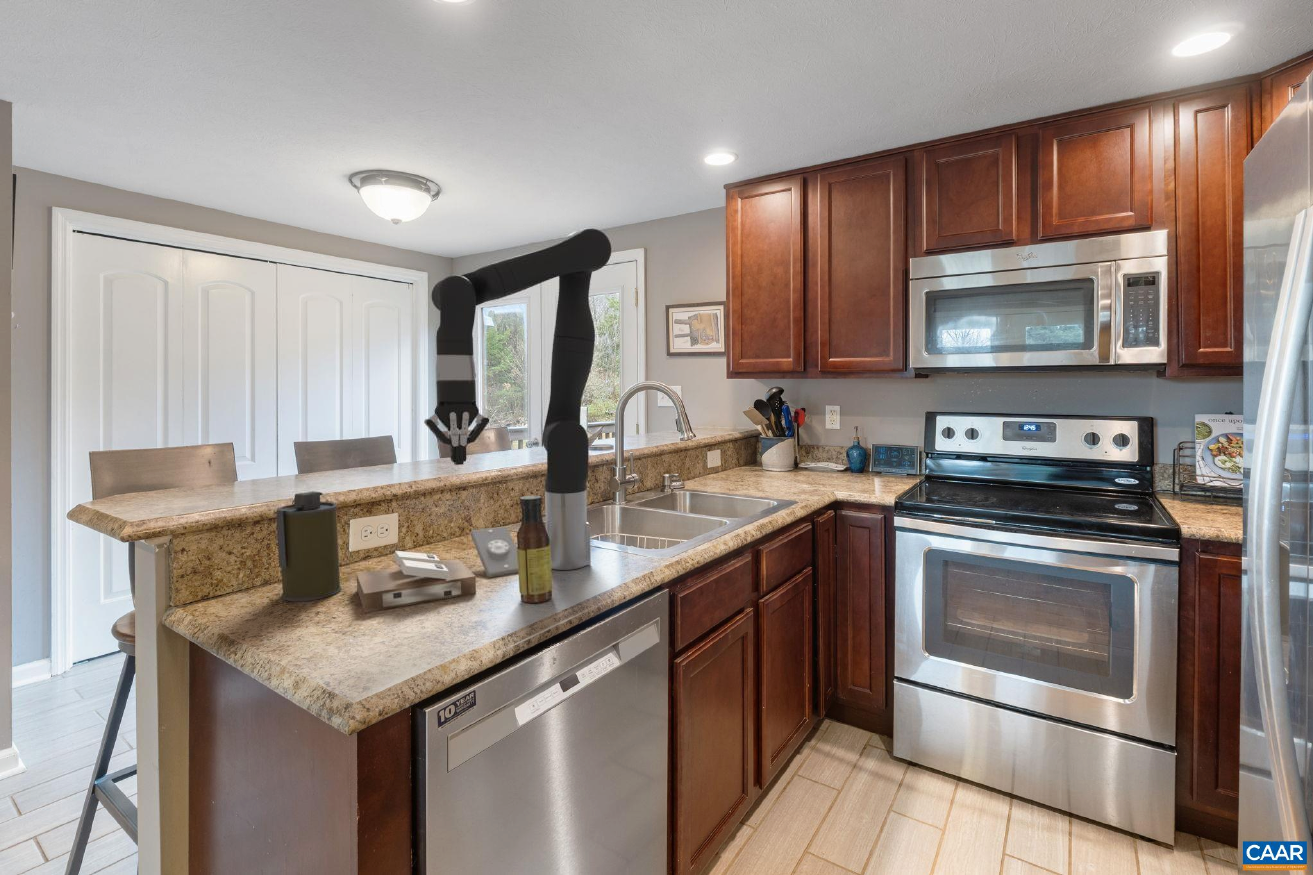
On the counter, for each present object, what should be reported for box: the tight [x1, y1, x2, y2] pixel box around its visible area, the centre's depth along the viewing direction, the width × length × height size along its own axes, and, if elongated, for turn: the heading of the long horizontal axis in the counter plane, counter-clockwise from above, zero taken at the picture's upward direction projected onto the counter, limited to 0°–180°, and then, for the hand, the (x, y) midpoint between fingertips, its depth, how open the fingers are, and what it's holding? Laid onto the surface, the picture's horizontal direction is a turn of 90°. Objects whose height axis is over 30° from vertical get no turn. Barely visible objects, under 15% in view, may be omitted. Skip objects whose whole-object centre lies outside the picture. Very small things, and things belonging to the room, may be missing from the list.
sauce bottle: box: [516, 494, 553, 604], centre depth 120 cm, size 6×6×20 cm
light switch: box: [470, 525, 518, 578], centre depth 142 cm, size 8×6×14 cm
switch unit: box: [355, 558, 477, 613], centre depth 124 cm, size 20×15×4 cm
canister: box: [275, 491, 342, 603], centre depth 123 cm, size 11×10×20 cm
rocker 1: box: [393, 550, 441, 565], centre depth 128 cm, size 8×5×2 cm, turn 122°
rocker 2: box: [399, 560, 449, 579], centre depth 121 cm, size 8×5×2 cm, turn 122°
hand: (458, 464), depth 127 cm, fingers closed
